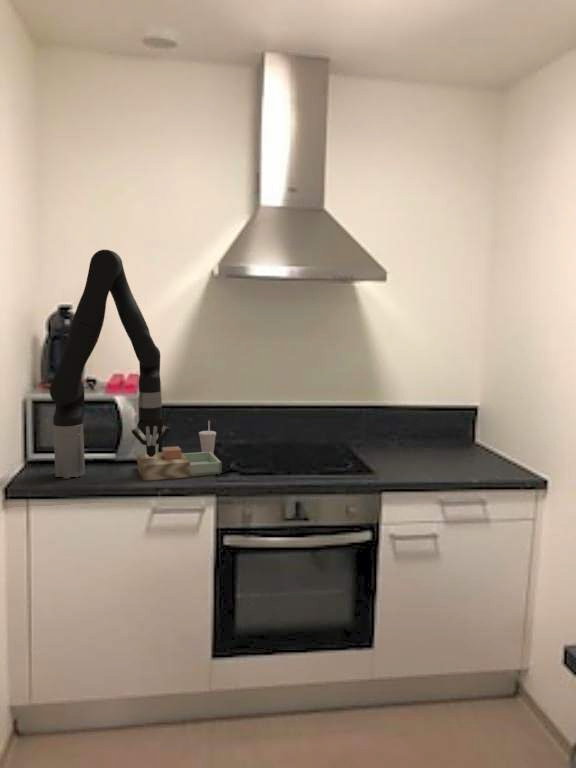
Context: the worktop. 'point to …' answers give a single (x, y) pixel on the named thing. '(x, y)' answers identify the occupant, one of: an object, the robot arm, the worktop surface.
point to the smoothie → (207, 440)
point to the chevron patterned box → (162, 467)
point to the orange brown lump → (171, 453)
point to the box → (203, 464)
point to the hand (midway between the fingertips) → (151, 456)
